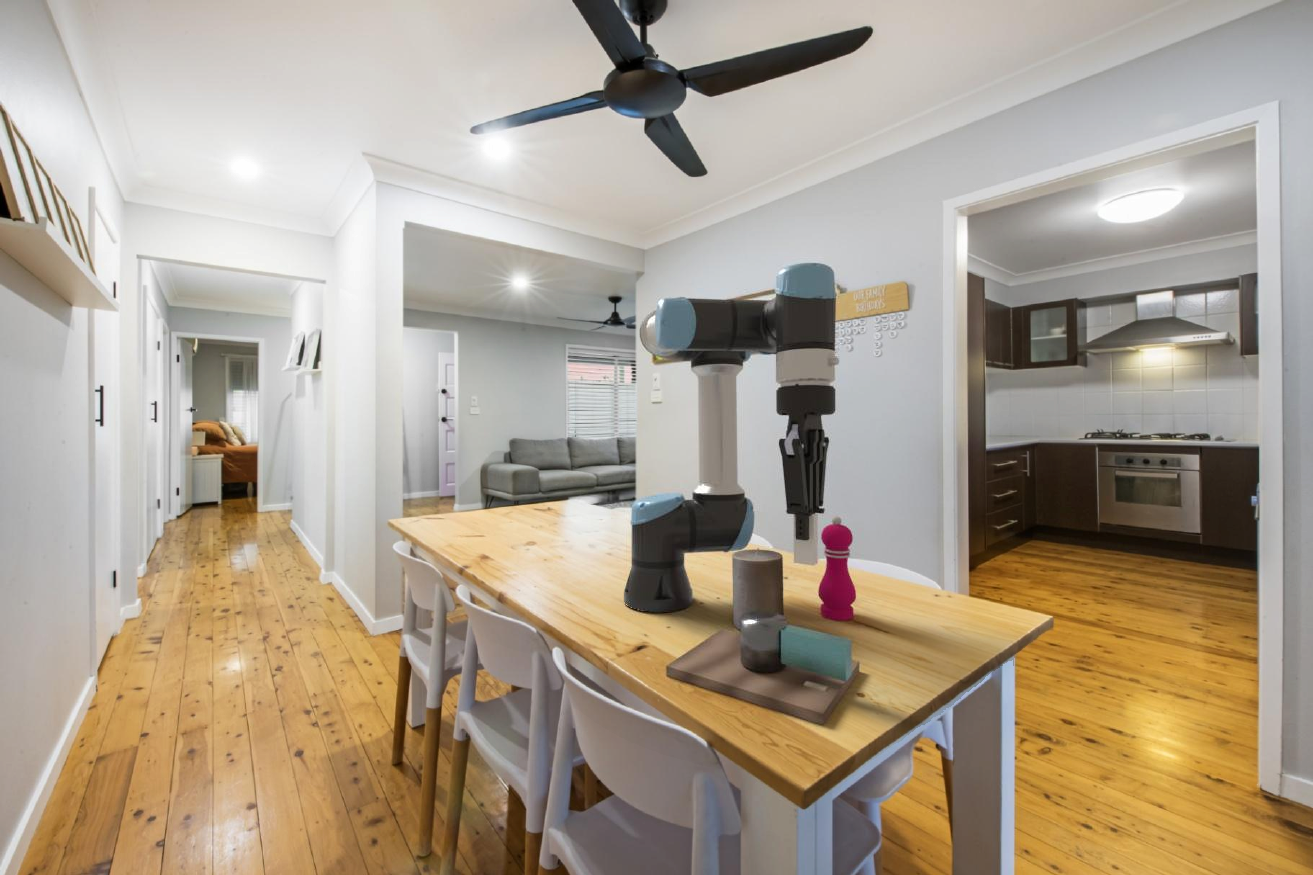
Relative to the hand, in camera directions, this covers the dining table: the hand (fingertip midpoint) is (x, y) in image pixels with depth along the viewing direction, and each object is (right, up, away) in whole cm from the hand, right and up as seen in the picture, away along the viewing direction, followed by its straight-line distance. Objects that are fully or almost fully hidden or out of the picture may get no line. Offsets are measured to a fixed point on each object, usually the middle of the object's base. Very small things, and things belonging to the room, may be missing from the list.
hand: (805, 562), depth 70 cm
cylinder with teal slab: (0, -18, +8) cm, 20 cm away
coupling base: (-3, -20, +11) cm, 23 cm away
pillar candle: (0, -20, +31) cm, 37 cm away
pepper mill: (+17, -20, +36) cm, 44 cm away
